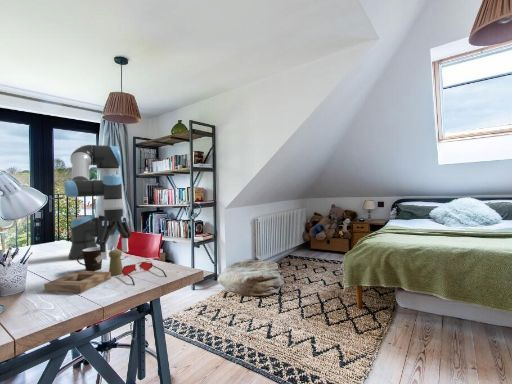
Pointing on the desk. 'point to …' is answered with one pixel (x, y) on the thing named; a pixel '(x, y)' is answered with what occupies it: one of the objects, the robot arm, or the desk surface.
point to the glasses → (143, 265)
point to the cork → (115, 262)
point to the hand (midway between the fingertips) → (115, 255)
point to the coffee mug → (91, 259)
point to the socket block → (77, 282)
